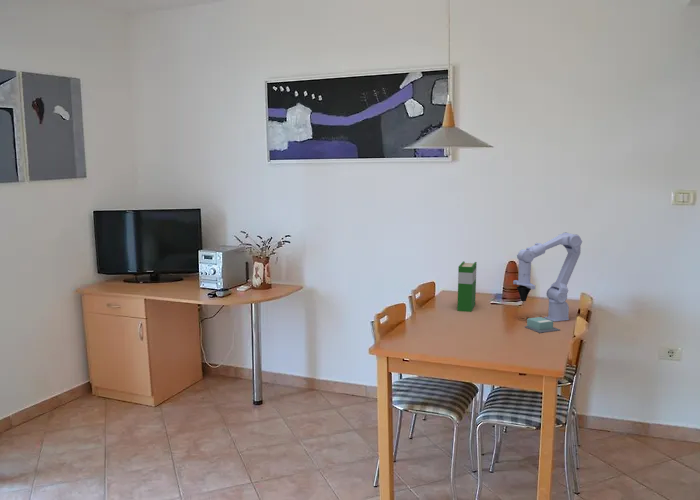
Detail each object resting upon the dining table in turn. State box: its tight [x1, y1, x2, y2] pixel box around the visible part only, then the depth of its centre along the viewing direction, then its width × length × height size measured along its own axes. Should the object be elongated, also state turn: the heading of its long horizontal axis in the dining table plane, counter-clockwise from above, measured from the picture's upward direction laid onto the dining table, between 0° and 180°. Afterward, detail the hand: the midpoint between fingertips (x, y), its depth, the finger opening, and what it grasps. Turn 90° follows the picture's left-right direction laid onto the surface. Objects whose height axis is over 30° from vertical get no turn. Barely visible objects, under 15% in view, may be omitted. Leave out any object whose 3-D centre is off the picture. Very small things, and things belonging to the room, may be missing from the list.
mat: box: [524, 325, 561, 334], centre depth 290 cm, size 12×11×1 cm
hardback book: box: [456, 261, 477, 313], centre depth 330 cm, size 18×7×24 cm, turn 162°
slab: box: [526, 316, 554, 330], centre depth 291 cm, size 8×4×9 cm
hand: (523, 300), depth 301 cm, fingers closed
